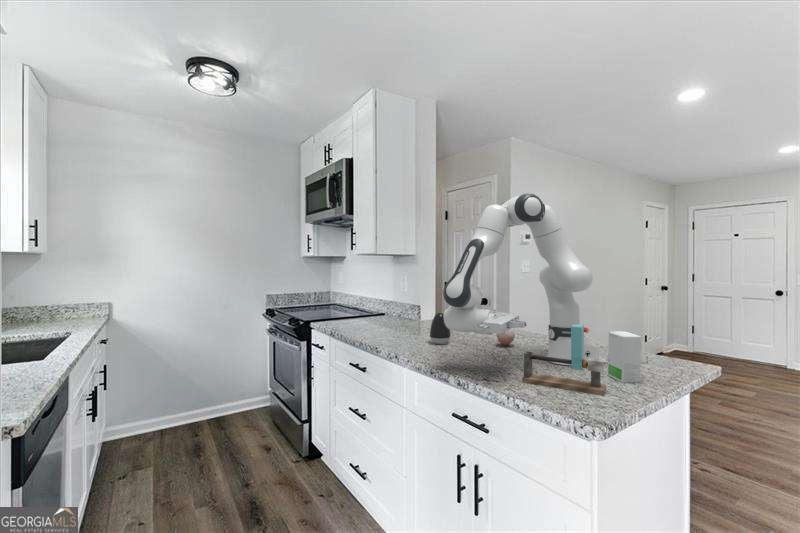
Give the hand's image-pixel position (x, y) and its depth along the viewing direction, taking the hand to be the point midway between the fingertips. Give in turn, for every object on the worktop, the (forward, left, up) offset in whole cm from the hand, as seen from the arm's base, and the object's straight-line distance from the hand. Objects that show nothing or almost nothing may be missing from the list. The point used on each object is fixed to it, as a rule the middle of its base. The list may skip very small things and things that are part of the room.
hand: (525, 324), depth 130 cm
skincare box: (-32, +8, -19) cm, 38 cm away
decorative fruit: (-17, -47, -19) cm, 54 cm away
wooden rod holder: (-8, +9, -19) cm, 22 cm away
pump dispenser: (+11, -60, -19) cm, 64 cm away
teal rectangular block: (-11, +12, -13) cm, 21 cm away
